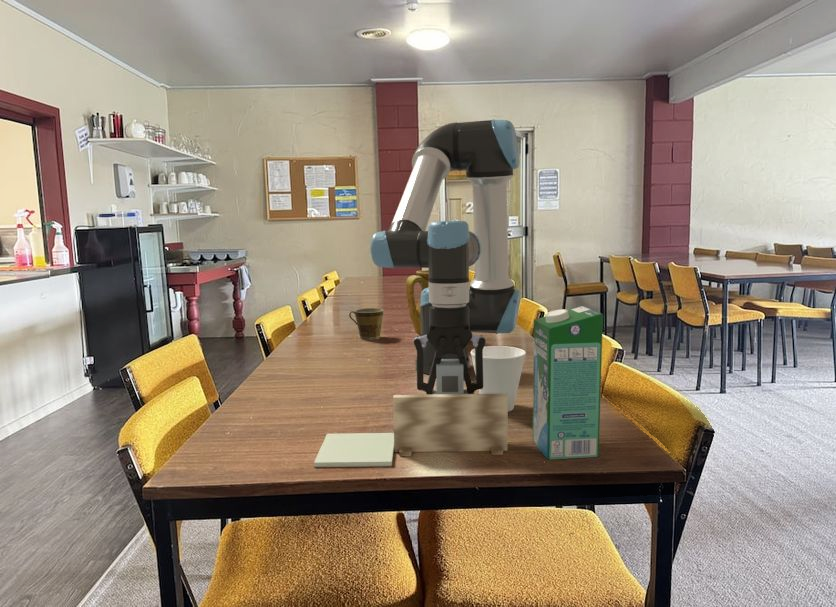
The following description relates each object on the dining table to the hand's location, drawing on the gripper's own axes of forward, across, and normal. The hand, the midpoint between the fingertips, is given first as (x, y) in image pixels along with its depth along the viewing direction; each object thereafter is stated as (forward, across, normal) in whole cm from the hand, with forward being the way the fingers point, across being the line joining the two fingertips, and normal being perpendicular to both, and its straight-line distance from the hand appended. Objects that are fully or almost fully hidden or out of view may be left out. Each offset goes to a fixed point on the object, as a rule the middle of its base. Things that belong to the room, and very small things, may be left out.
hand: (450, 424), depth 109 cm
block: (+2, 0, 0) cm, 2 cm away
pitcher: (+2, -1, +81) cm, 81 cm away
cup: (+2, +11, +15) cm, 19 cm away
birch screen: (+2, 0, -8) cm, 8 cm away
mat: (+2, -17, -8) cm, 19 cm away
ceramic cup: (+2, -26, +91) cm, 95 cm away
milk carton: (+2, +20, -8) cm, 22 cm away
